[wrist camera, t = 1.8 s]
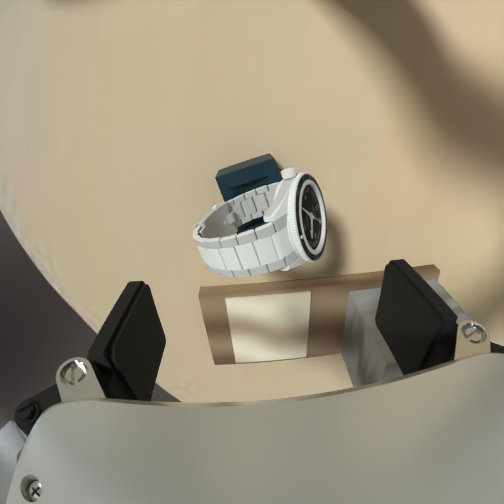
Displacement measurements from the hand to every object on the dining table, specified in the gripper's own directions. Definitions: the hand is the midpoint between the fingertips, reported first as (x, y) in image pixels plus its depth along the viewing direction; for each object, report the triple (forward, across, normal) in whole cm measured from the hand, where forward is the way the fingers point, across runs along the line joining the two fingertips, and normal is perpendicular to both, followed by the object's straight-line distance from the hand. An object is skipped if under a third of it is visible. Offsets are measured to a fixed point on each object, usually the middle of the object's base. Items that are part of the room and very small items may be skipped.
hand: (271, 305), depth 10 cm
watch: (+14, 0, -1) cm, 14 cm away
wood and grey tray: (+15, -7, +13) cm, 21 cm away
